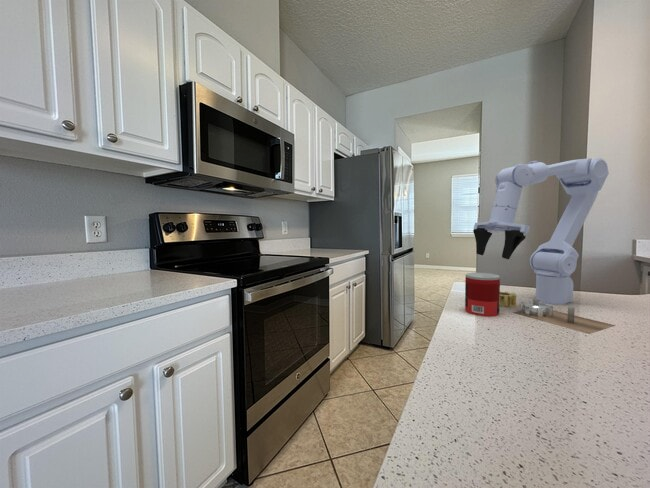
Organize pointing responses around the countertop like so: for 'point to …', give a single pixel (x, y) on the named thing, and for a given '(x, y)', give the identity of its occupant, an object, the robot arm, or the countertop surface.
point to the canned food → (482, 294)
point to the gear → (536, 309)
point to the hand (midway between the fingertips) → (491, 256)
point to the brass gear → (507, 299)
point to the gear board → (571, 320)
